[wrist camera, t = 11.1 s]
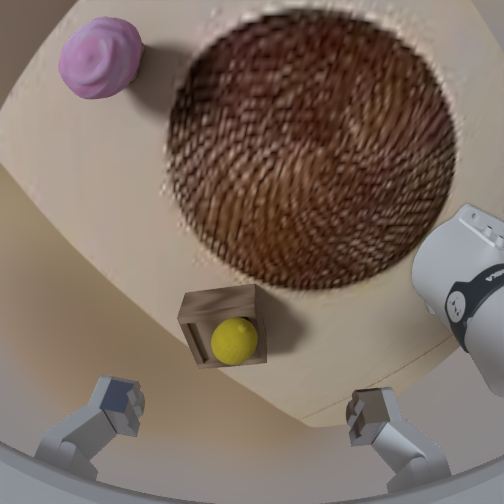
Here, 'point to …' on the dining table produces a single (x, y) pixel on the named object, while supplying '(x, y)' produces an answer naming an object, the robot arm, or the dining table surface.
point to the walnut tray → (220, 321)
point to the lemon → (234, 341)
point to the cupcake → (101, 58)
